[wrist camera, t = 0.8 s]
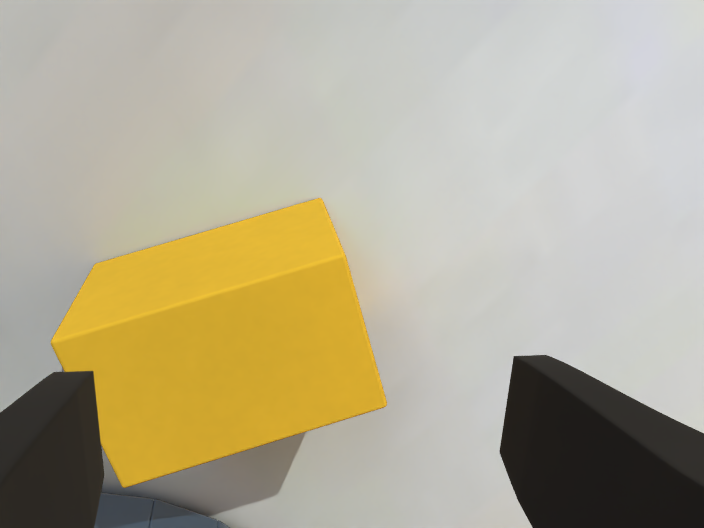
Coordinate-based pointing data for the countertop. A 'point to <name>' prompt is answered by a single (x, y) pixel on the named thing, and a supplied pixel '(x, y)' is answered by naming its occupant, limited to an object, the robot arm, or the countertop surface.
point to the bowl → (147, 514)
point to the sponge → (221, 342)
